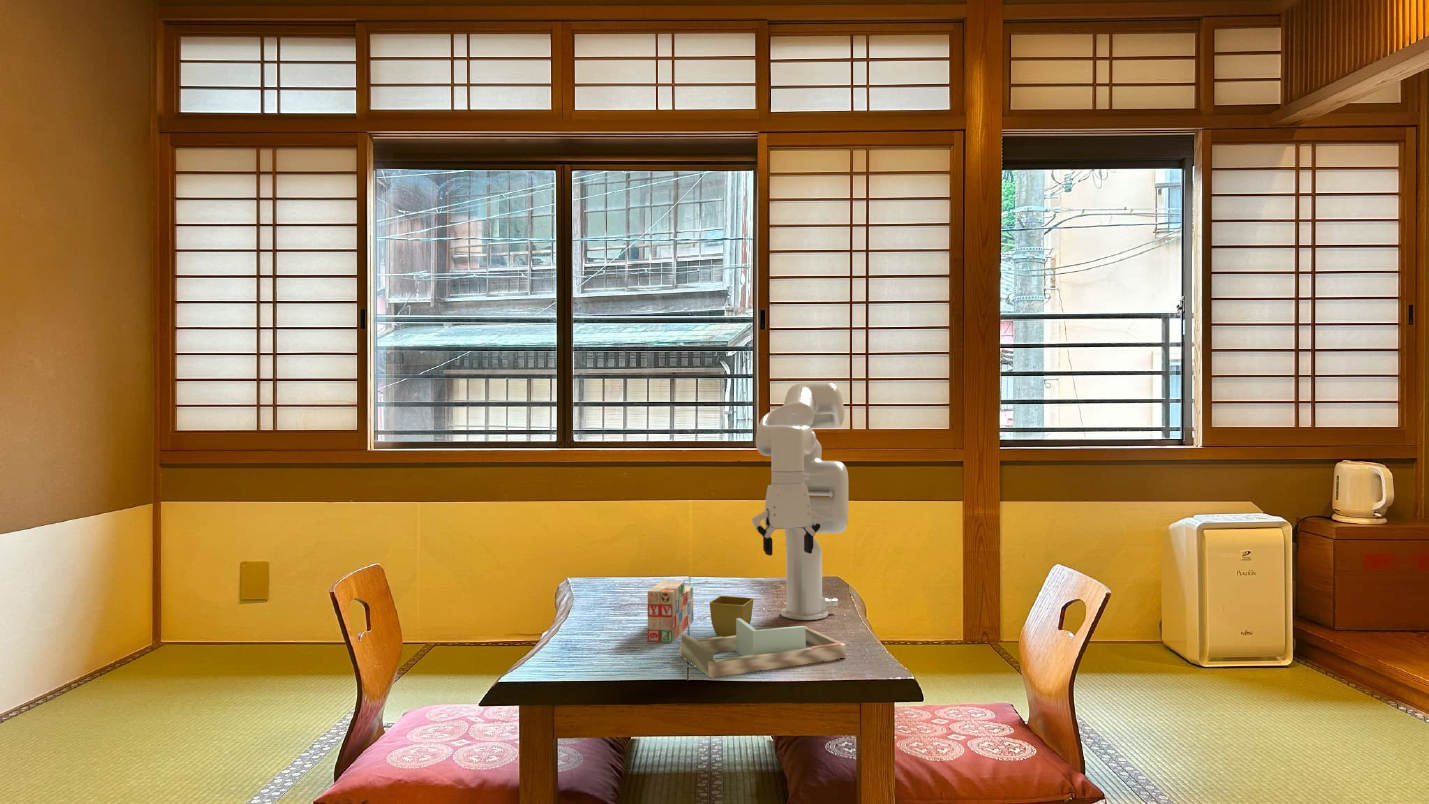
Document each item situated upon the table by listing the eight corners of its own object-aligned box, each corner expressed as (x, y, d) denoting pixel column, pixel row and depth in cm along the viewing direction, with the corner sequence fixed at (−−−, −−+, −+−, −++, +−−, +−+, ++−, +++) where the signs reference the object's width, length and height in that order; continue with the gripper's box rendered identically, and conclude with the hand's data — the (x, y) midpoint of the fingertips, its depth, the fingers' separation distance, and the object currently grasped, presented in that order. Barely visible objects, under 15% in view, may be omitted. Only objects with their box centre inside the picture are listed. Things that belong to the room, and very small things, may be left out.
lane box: (806, 639, 198) (805, 618, 198) (846, 658, 182) (845, 635, 182) (679, 655, 185) (679, 633, 185) (710, 678, 169) (710, 653, 169)
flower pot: (754, 634, 203) (754, 597, 203) (744, 643, 195) (743, 605, 195) (720, 631, 206) (720, 595, 206) (708, 640, 197) (708, 602, 198)
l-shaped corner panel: (805, 661, 180) (805, 626, 180) (753, 666, 176) (753, 631, 177) (785, 647, 191) (785, 614, 191) (736, 651, 188) (736, 618, 188)
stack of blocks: (670, 620, 218) (670, 573, 218) (693, 621, 217) (693, 574, 217) (647, 642, 197) (647, 590, 197) (672, 643, 196) (672, 591, 196)
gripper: (816, 477, 197) (817, 549, 196) (747, 479, 192) (747, 553, 192) (829, 479, 190) (829, 554, 189) (757, 481, 185) (758, 558, 184)
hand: (788, 553), depth 190 cm, fingers open, 9 cm apart
